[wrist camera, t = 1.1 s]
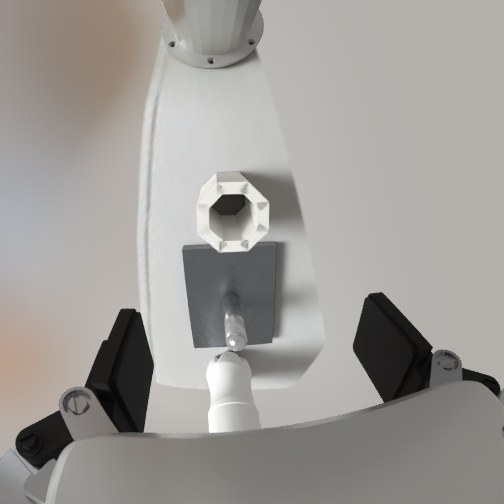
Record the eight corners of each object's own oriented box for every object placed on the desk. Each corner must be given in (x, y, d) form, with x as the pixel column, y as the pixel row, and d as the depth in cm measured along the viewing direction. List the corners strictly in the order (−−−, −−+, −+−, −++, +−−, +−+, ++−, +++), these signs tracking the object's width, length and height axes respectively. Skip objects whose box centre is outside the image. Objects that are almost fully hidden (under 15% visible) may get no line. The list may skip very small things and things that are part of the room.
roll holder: (183, 245, 36) (172, 285, 26) (274, 241, 38) (296, 279, 27) (194, 341, 42) (192, 395, 32) (270, 337, 43) (285, 388, 33)
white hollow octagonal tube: (200, 173, 33) (194, 183, 24) (254, 171, 34) (269, 181, 25) (202, 224, 36) (198, 253, 26) (254, 222, 36) (268, 250, 27)
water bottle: (257, 359, 45) (289, 494, 22) (231, 382, 46) (247, 510, 23) (224, 340, 43) (240, 489, 19) (198, 365, 44) (199, 503, 21)
